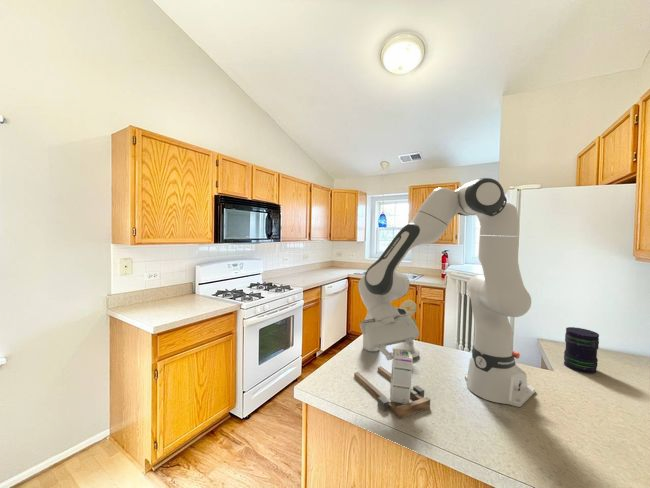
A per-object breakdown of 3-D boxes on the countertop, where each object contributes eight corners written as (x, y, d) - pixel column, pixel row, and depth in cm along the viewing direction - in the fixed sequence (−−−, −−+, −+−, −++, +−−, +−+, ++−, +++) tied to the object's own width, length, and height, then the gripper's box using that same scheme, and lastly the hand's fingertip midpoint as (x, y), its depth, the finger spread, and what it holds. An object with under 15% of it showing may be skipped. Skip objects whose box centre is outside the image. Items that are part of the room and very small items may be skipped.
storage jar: (561, 366, 110) (563, 330, 109) (565, 359, 116) (567, 325, 116) (596, 377, 102) (598, 338, 102) (598, 368, 109) (600, 332, 108)
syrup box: (409, 405, 82) (414, 358, 82) (389, 401, 83) (394, 355, 83) (407, 394, 88) (411, 350, 87) (389, 390, 89) (393, 347, 88)
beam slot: (385, 368, 106) (385, 362, 106) (434, 405, 84) (435, 398, 84) (349, 377, 99) (349, 371, 99) (393, 420, 77) (393, 412, 77)
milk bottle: (380, 352, 120) (381, 308, 119) (362, 351, 121) (363, 307, 120) (379, 345, 127) (380, 303, 126) (363, 344, 129) (364, 302, 128)
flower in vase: (388, 349, 123) (389, 295, 122) (411, 348, 125) (413, 294, 124) (401, 363, 110) (403, 303, 109) (426, 361, 112) (428, 302, 111)
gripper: (361, 316, 87) (379, 359, 79) (410, 309, 96) (431, 347, 88) (354, 325, 91) (370, 367, 83) (401, 317, 100) (420, 354, 92)
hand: (402, 356), depth 85 cm, fingers closed on syrup box, 7 cm apart
